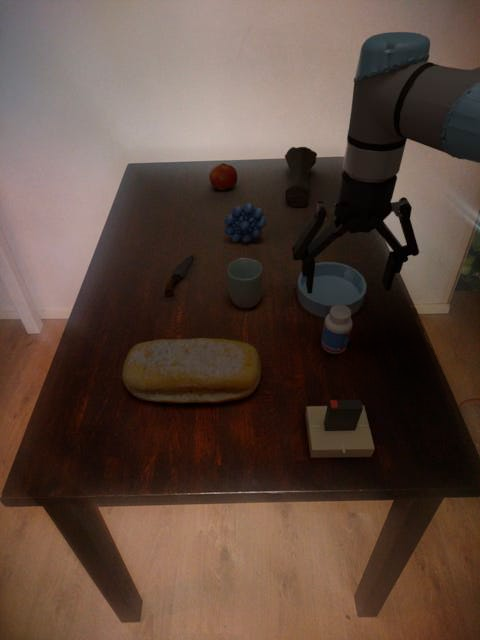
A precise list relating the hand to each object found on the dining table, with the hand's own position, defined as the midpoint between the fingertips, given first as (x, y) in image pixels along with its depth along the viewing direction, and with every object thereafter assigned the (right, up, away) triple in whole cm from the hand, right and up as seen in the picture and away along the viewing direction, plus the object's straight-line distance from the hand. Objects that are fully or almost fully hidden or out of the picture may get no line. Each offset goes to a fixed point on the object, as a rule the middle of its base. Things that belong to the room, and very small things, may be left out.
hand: (347, 287), depth 68 cm
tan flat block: (-2, -26, -2) cm, 26 cm away
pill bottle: (+1, -11, +12) cm, 16 cm away
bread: (-28, -18, +7) cm, 34 cm away
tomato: (-25, +39, +62) cm, 77 cm away
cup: (-18, -2, +22) cm, 28 cm away
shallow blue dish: (+2, 0, +22) cm, 22 cm away
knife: (-35, +5, +30) cm, 46 cm away
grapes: (-17, +16, +40) cm, 46 cm away
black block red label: (-3, -24, -4) cm, 24 cm away
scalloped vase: (+1, +39, +60) cm, 71 cm away
